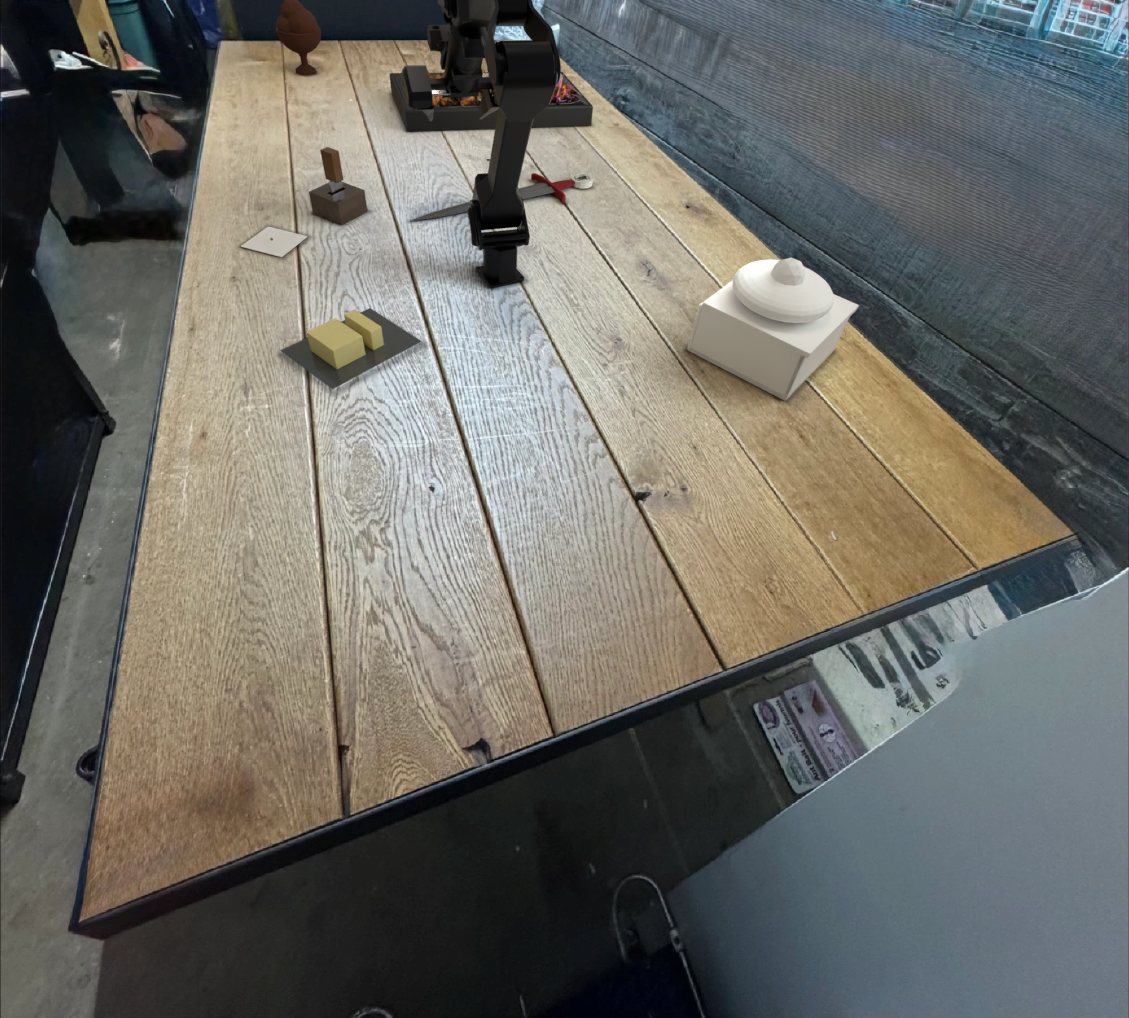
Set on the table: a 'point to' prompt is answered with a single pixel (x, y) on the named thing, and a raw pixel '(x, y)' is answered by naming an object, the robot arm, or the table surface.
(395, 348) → the butter board
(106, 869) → the table surface
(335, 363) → the butter block
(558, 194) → the dagger
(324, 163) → the knife
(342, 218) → the knife stand
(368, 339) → the butter slice
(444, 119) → the food platter
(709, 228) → the table surface
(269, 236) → the coaster
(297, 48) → the ice cream bowl
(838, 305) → the white lidded jar
